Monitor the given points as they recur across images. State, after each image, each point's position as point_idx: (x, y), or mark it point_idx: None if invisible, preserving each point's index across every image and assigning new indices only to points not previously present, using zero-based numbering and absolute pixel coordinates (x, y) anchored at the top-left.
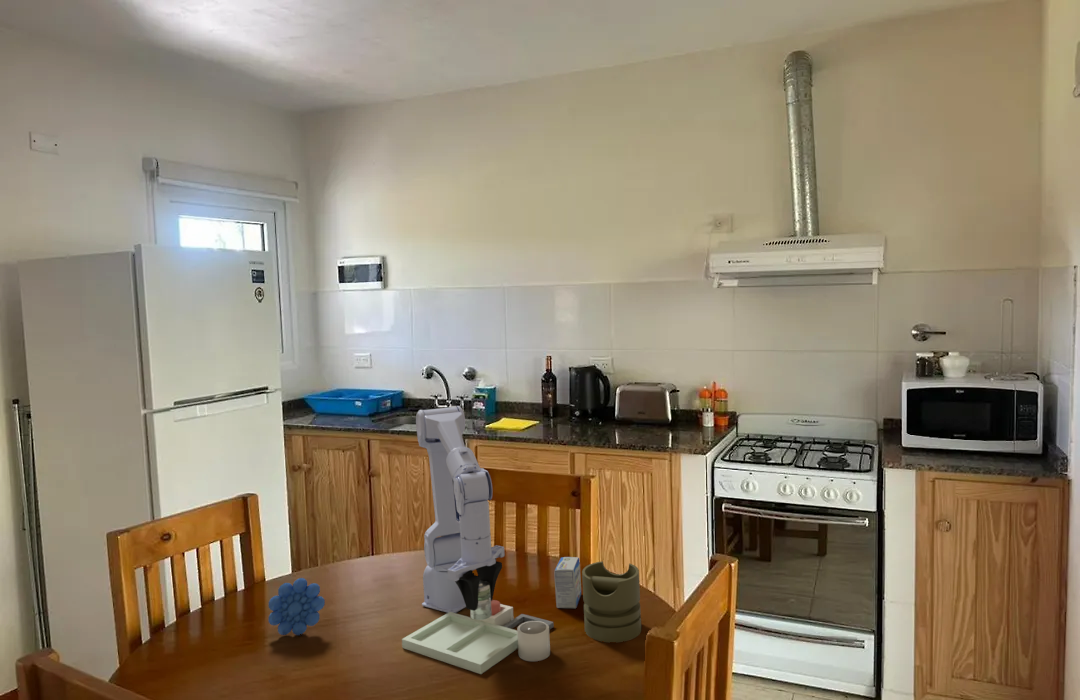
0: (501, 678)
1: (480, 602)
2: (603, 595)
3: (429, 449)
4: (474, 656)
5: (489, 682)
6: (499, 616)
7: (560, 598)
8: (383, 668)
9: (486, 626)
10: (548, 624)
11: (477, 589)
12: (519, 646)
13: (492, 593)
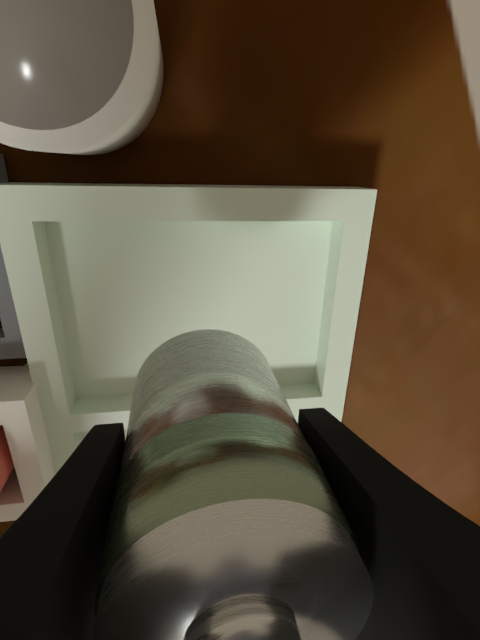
0: (353, 74)
1: (293, 426)
2: None
3: None
4: (275, 291)
5: (399, 107)
6: None
7: None
8: (427, 473)
9: (69, 403)
10: None
11: (427, 554)
12: (151, 102)
13: (88, 461)
